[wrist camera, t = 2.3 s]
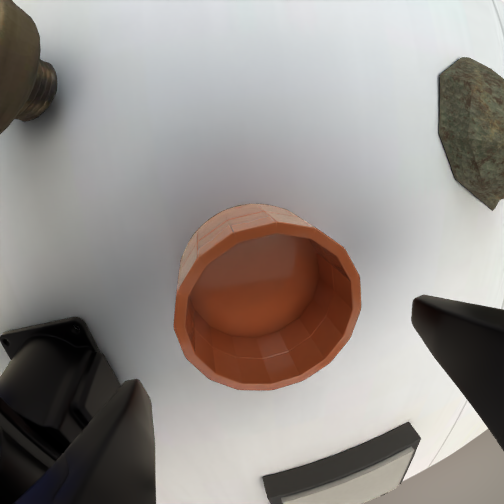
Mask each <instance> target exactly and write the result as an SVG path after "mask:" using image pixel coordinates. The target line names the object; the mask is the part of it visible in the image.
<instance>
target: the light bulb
mask: <svg viewBox="0 0 504 504" xmlns="http://www.w3.org/2000/svg"><path fill="white" fill-rule="evenodd" d="M56 91H57V77H56V72H55V70H54V68H53V67H52V65H51V64H50V63H48V62H44V61H42V60H41V59H40V36H39V33H38V30H37V27H36V25H35V23H34V21H33V20H32V18H31V17H30V16H29V15H28V14H27V13H25V12H24V11H23V10H22V9H21V8H19V7H18V6H17V5H16V4H15V3H14V2H13V1H12V0H0V134H1V133H2V132H3V131H4V130H5V129H6V128H7V127H8V126H9V125H10V124H11V123H12V121H13V120H14V119H19V120H22V121H24V122H26V121H30V120H32V119H35V118H37V117H39V116H40V115H41V114H42V113H43V112H44V111H45V110H46V109H47V108H48V107H49V105H50V104H51V102H52V100H53V98H54V96H55V94H56Z"/></svg>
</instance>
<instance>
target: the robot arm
mask: <svg viewBox="0 0 504 504" xmlns="http://www.w3.org/2000/svg"><path fill="white" fill-rule="evenodd" d="M411 321H412V324H413V326H414V328H415V329H416V331H417V332H418V334H419V335H420V337H421V338H422V340H423V341H424V343H425V344H426V346H427V347H428V349H429V350H430V352H431V353H432V355H433V356H434V358H435V359H436V360H437V362H438V363H439V364H440V365H441V367H442V368H443V369H444V370H445V372H446V373H447V374H448V375H449V377H450V378H451V379H452V380H453V382H454V383H455V384H456V386H457V387H458V388H459V389H460V391H461V392H462V393H463V395H464V396H465V397H466V399H467V400H468V401H469V403H470V404H471V405H472V407H473V408H474V409H475V411H476V412H477V413H478V415H479V416H480V417H481V419H482V420H483V422H484V423H485V424H486V426H487V427H488V429H489V430H490V432H491V433H492V434H493V436H494V437H495V439H497V442H498V443H499V445H500V446H501V448H502V449H503V451H504V310H503V309H497V308H492V307H486V306H481V305H476V304H470V303H465V302H460V301H454V300H449V299H444V298H439V297H433V296H428V295H421V296H419V297H417V298H415V299H414V300H413V303H412V316H411ZM74 325H76V326H78V327H79V329H80V330H79V329H76V328H75V327H74ZM7 340H8V341H7ZM0 341H1V344H2V345H3V347H4V349H5V351H6V352H7V354H8V356H9V357H10V359H11V361H10V363H9V364H8V366H7V367H6V369H5V370H4V372H3V373H2V375H1V376H0V504H156V487H155V437H154V428H153V417H152V405H151V400H150V397H149V396H148V394H147V392H146V390H145V389H144V387H143V385H142V383H141V382H140V381H139V380H138V379H133V380H127V381H125V382H124V383H123V384H122V385H120V383H119V381H118V380H117V378H116V376H115V374H114V373H113V371H112V369H111V367H110V366H109V364H108V362H107V360H106V358H105V357H104V355H103V354H102V353H101V352H100V351H99V349H98V347H97V345H96V343H95V341H94V340H93V338H92V336H91V334H90V332H89V330H88V328H87V325H86V323H85V322H84V321H83V320H82V319H81V318H79V317H71V318H67V319H62V320H58V321H53V322H49V323H44V324H39V325H35V326H30V327H25V328H21V329H16V330H11V331H6V332H4V333H3V334H2V335H1V337H0Z"/></svg>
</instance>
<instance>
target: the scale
mask: <svg viewBox="0 0 504 504" xmlns="http://www.w3.org/2000/svg"><path fill="white" fill-rule="evenodd" d="M420 440H421V437H420V436H419V435H418V433H417V432H416V431H415V429H414V428H413V427H412V425H411V424H410V423H409V422H408V423H406V424H404V425H402V426H400V427H398V428H396V429H394V430H392V431H390V432H388V433H386V434H384V435H382V436H379V437H377V438H375V439H373V440H371V441H368V442H366V443H364V444H361V445H359V446H357V447H354V448H352V449H349V450H347V451H344V452H342V453H339V454H337V455H334V456H331V457H328V458H326V459H323V460H320V461H317V462H314V463H311V464H308V465H305V466H301V467H298V468H295V469H291V470H288V471H284V472H281V473H277V474H273V475H269V476H265V477H263V482H264V486H265V490H266V493H267V497H268V500H269V501H270V503H271V504H363V503H365V502H367V501H370V500H372V499H374V498H376V497H378V496H382V495H385V494H386V493H387V492H389V491H391V490H393V489H395V488H397V487H398V485H399V484H401V482H402V480H403V478H404V476H405V474H406V472H407V470H408V468H409V466H410V463H411V461H412V459H413V457H414V454H415V452H416V449H417V447H418V445H419V442H420Z"/></svg>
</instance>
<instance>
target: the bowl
mask: <svg viewBox="0 0 504 504" xmlns="http://www.w3.org/2000/svg"><path fill="white" fill-rule="evenodd" d="M360 310H361V287H360V276H359V274H358V272H357V270H356V268H355V266H354V264H353V262H352V261H351V259H350V257H349V255H348V253H347V251H346V249H344V247H343V246H341V245H340V244H338V243H337V242H336V241H334V240H333V239H331V238H330V237H329V236H327V235H326V234H324V233H323V232H321V231H320V230H318V229H317V228H315V227H314V226H312V225H311V224H309V223H308V222H306V221H304V220H303V219H301V218H300V217H298V216H296V215H295V214H293V213H292V212H290V211H288V210H286V209H283V208H279V207H276V206H272V205H267V204H245V205H239V206H235V207H232V208H229V209H226V210H224V211H222V212H220V213H218V214H216V215H215V216H213V217H212V218H210V219H209V220H208V221H206V222H205V223H204V224H203V225H202V226H201V227H200V228H199V229H198V230H197V231H196V232H195V233H194V235H193V236H192V238H191V239H190V241H189V242H188V244H187V246H186V248H185V251H184V253H183V255H182V257H181V262H180V269H179V276H178V284H177V292H176V303H175V314H174V326H173V327H174V331H175V333H176V336H177V338H178V341H179V343H180V346H181V348H182V350H183V353H184V355H185V357H186V359H187V360H188V361H189V362H191V363H192V364H193V365H194V366H195V367H196V368H197V369H198V370H199V371H200V372H202V373H203V374H204V375H205V376H206V377H207V378H208V379H210V380H212V381H215V382H218V383H220V384H223V385H226V386H229V387H231V388H234V389H237V390H275V389H278V388H282V387H285V386H288V385H292V384H295V383H298V382H301V381H302V380H305V379H307V378H308V377H310V376H311V375H313V374H314V373H316V372H317V371H319V370H320V369H322V368H323V367H325V366H326V365H328V364H329V362H331V361H332V360H333V359H334V358H335V356H336V355H337V354H338V353H339V352H340V350H341V349H342V348H343V347H344V345H345V344H346V343H347V342H348V340H349V339H350V337H351V335H352V332H353V330H354V327H355V324H356V322H357V319H358V316H359V313H360Z"/></svg>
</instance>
